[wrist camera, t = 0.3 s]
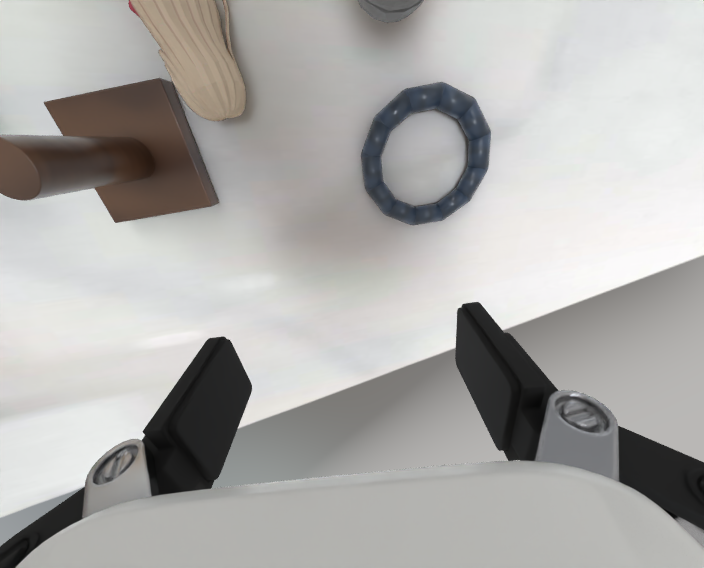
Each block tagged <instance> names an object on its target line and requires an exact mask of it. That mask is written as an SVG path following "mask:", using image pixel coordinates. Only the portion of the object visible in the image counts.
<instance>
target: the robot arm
mask: <svg viewBox="0 0 704 568" xmlns="http://www.w3.org/2000/svg"><path fill="white" fill-rule="evenodd" d="M455 359H456V364H457V367H458V369H459V372H460V374H461V376H462V378H463V380H464V382H465V384H466V386H467V388H468V390H469V392H470V394H471V396H472V398H473V400H474V402H475V404H476V406H477V409H478V411H479V413H480V415H481V417H482V419H483V421H484V423H485V425H486V427H487V429H488V431H489V433H490V435H491V437H492V439H493V441H494V443H495V445H496V447H497V448H498V450H499V451H500V450H503V451H504V453H505V455H506V457H507V459H508V461H494V462H481V463H468V464H455V465H442V466H432V467H421V468H411V469H400V470H390V471H379V472H368V473H358V474H348V475H338V476H328V477H318V478H308V479H298V480H289V481H278V482H269V483H259V484H250V485H240V486H231V487H221V488H212V489H211V487H212V485H213V482H214V480H216V479H217V478H218V477H219V475H220V473H221V470H222V468H223V465H224V462H225V460H226V457H227V455H228V452H229V449H230V447H231V444H232V441H233V439H234V436H235V434H236V431H237V428H238V426H239V423H240V421H241V418H242V415H243V413H244V410H245V408H246V405H247V402H248V400H249V397H250V395H251V391H252V385H251V382H250V380H249V378H248V376H247V374H246V372H245V370H244V368H243V366H242V363H241V361H240V359H239V357H238V355H237V353H236V351H235V349H234V347H233V345H232V343H231V341H230V340H228V339H226V338H225V337H216V338H210V339H208V340H207V341H206V342H205V344H204V345H203V347H202V348H201V350H200V351H199V352H198V354H197V355H196V357H195V358H194V359H193V361H192V362H191V364H190V365H189V367H188V368H187V369H186V371H185V372H184V374H183V375H182V376H181V378H180V379H179V381H178V382H177V384H176V385H175V386H174V388H173V389H172V391H171V392H170V393H169V395H168V396H167V398H166V399H165V401H164V402H163V403H162V405H161V406H160V408H159V409H158V410H157V412H156V413H155V415H154V416H153V418H152V419H151V420H150V422H149V423H148V425H147V426H146V427H145V429H144V430H143V433H144V434H145V437H144V438H143V439H142V441H141V440H139V439H131V440H128V441H124V442H122V443H120V444H118V445H117V446H115V447H113V448H112V449H111V450H109V451H108V452H107V453H105V454H104V455H103V456H102V457H101V458H100V459H99V460H98V461H97V462H96V463H95V465H94V466H93V467H92V468H91V470H90V472H89V474H88V475H87V479H86V482H85V487H84V488H82V489H81V490H80V491H78V492H77V493H75V494H74V495H72V496H71V497H69V498H68V499H67V500H65V501H64V502H62V503H61V504H59V505H58V506H57V507H55V508H54V509H52V510H51V511H49V512H48V513H46V514H45V515H43V516H42V517H41V518H39V519H38V520H36V521H35V522H33V523H32V524H30V525H29V526H28V527H26V528H25V529H23V530H22V531H20V532H19V533H17V534H16V535H15V536H13V537H12V538H11V539H9V540H8V541H7V542H6V543H4V544H3V545H2V546H1V547H0V568H704V462H701V461H699V460H697V459H694V458H692V457H690V456H688V455H685V454H683V453H680V452H678V451H676V450H673V449H671V448H669V447H667V446H664V445H661V444H659V443H657V442H655V441H652V440H650V439H648V438H645V437H643V436H641V435H639V434H636V433H634V432H632V431H629V430H627V429H625V428H622V427H620V426H618V424H617V420H616V418H615V417H614V415H613V414H612V412H611V411H610V410H609V409H608V408H607V407H606V406H604V404H602V403H600V402H599V401H598V400H596V399H595V398H593V397H590V396H588V395H586V394H584V393H580V392H576V391H570V390H561V391H558V390H557V388H556V387H555V386H554V385H553V384H552V383H551V381H550V380H549V379H548V378H547V377H546V375H545V374H544V373H543V372H542V371H541V369H540V368H539V367H538V366H537V365H536V364H535V362H534V361H533V360H532V359H531V358H530V356H529V355H528V354H527V353H526V352H525V351H524V349H523V348H522V347H521V346H520V345H519V343H518V342H517V341H516V340H515V339H514V338H513V336H511V335H510V334H509V333H504V332H503V331H502V330H501V328H500V327H499V326H498V325H497V323H496V322H495V321H494V320H493V319H492V317H491V316H490V315H489V314H488V312H487V311H486V310H485V309H484V308H483V306H482V305H481V304H480V303H479V302H474V303H466V304H463V305H462V308H458V311H457V333H456V358H455ZM514 460H520V461H514Z"/></svg>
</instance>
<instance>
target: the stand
mask: <svg viewBox="0 0 704 568" xmlns="http://www.w3.org/2000/svg"><path fill="white" fill-rule="evenodd" d="M44 104H45V106H46V107H47V109H48V111H49V112H50V114H51V116H52V117H53V119H54V121H55V123H56V124H57V126H58V128H59V129H60V131H61V133H62V134H63V136H39V135H0V193H1V194H3V195H5V196H7V197H10V198H13V199H17V200H32V199H37V198H43V197H48V196H54V195H59V194H65V193H70V192H75V191H81V190H86V189H92V188H95V190H96V191H97V193H98V195H99V196H100V198H101V200H102V201H103V203H104V205H105V206H106V208H107V210H108V211H109V213H110V215H111V217H112V218H113V220H114V222H115V223H118V222H124V221H130V220H136V219H141V218H147V217H153V216H159V215H164V214H170V213H176V212H182V211H187V210H193V209H199V208H205V207H211V206H213V205H215V204H217V203H219V202H218V199H217V197H216V194H215V191H214V189H213V186H212V184H211V181H210V179H209V176H208V174H207V171H206V169H205V166H204V163H203V161H202V158H201V156H200V153H199V151H198V148H197V146H196V143H195V140H194V138H193V135H192V133H191V130H190V128H189V125H188V123H187V120H186V117H185V115H184V112H183V110H182V107H181V105H180V102H179V100H178V97H177V95H176V92H175V89H174V87H173V84H172V82H170V81H167V80H164V79H161V78H157V79H152V80H147V81H143V82H138V83H133V84H128V85H123V86H119V87H114V88H109V89H104V90H99V91H95V92H90V93H85V94H80V95H75V96H71V97H66V98H61V99H56V100H51V101H47V102H44Z"/></svg>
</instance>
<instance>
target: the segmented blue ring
mask: <svg viewBox="0 0 704 568" xmlns="http://www.w3.org/2000/svg"><path fill="white" fill-rule="evenodd" d="M432 109H438V110H440V111H442V112H444V113H446V114H448V115H450V116H452V117H454V118H456V119H458V121H459V123H460V125H461V127H462V129H463V131H464V133H465V135H466V137H467V138H468V140H469V145H468V167H467V168H466V170H465V172H464V174H463V176H462V178H461V180H460V181H459V183H458V185H457V187H456V189H455V190H453V191H452V192H451V193H449V194H448V195H447V196H445V197H444V198H443V199H441V200H440V201H439V202H437V203H435V204H429V205H423V206H417V207H414V206H412V205H409V204H407V203H404V202H402V201H399V200H397V199H395V197H394V196H393V194H392V193H391V192H390V190H389V189H388V187H387V186H386V184H385V183H384V182H383V173H382V163H381V155H382V153H383V150H384V148H385V145H386V142H387V140H388V137H389V135H390V132H391V131H392V130H393V129H394V128H395V127H396V126H397V125H399V124H400V123H401V122H402V121H403V120H404V119H405V118H406V117H408V116H409V115H410V114H411V113H416V112H421V111H426V110H432ZM490 140H491V131H490V128H489V126H488V124H487V122H486V120H485V118H484V116H483V114H482V112H481V110H480V107H479V105H478V103H477V101H476V100H475V98H473V97H472V96H470V95H468V94H466V93H464V92H462V91H460V90H458V89H456V88H454V87H452V86H450V85H448V84H446V83H444V82H438V83H433V84H428V85H423V86H418V87H413V88H407V89H405V90H403V91H402V92H401V93H400V94H398V95H397V96H396V97H395V98H394V99H393V100H392V101H391V102H390V103H389V104H388V105H387V106H386V107H385V108H383V109H382V110H381V111H380V112H379V113H378V114H377V115H376V116H375V117H374V119H373V122H372V125H371V128H370V130H369V133H368V136H367V139H366V142H365V144H364V147H363V150H362V153H361V159H362V167H363V174H364V182H365V189H366V191H367V192H368V194H369V195H370V196H371V198H372V199H373V200H374V202H375V203H376V204H377V206H378V207H379V208H380V210H381V211H382V212H383V213H384V214H385V215H386V216H389V217H392V218H394V219H397V220H399V221H402V222H404V223H407V224H410V225H418V224H424V223H430V222H437V221H442V220H444V219H445V218H447V217H448V216H450V215H451V214H452V213H454V212H455V211H457V210H458V209H459V208H461V207H462V206H464V205H465V204H466V203H468V202H469V201H470V200H471V198H472V196H473V195H474V193H475V191H476V189H477V188H478V186H479V184H480V183H481V181H482V179H483V177H484V176H485V174H486V172H487V170H488V165H489V152H490Z"/></svg>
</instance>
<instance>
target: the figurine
mask: <svg viewBox="0 0 704 568" xmlns="http://www.w3.org/2000/svg"><path fill="white" fill-rule="evenodd" d="M222 1H223V5H224V9H225V23H226V42H227V49H226V46H225V42H224V38H223V34H222V28H221V22H220V16H219V12H218V10H217V7H216V4H215V1H214V0H129V3H128V4H129V7H130V9H131V10H132V11H133V12H134V13H135V14H136V15H138V16H139V17H140V18H141V20H142V21H143V23H144V24H145V26H146V27H147V29H148V30H149V32H150V33H151V34H152V36H153V37H154V39H155V40H156V41H157V43H158V44H159V46H160V47H161V48H162V50H163V51H164V52H163V51H162V50H159V54H160V56H161V57H162V59H163V61H164V62H165V67H166V69H167V71H168V72H169V74H170V76H171V78H172V81H173V83H174V85H175V87H176V89H177V90H178V92H179V94H180V95H181V97H182V98H183V99H184V101H185V102H186V103H187V105H188V106H189V107H190V108H191V109H192V110H193V111H194V112H195V113H196V114H198V115H199V116H201V117H203V118H205V119H207V120H211V121H221V120H224V119H226V118H235V117H238V116H240V115H241V114H242V113H243V111H244V108H245V103H246V92H245V85H244V82H243V78H242V76H241V73H240V71H239V69H238V66H237V64H236V61H235V58H234V56H233V53H232V50H231V44H230V37H229V11H228V6H227V2H226V0H222ZM227 50H228V51H227Z"/></svg>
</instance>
